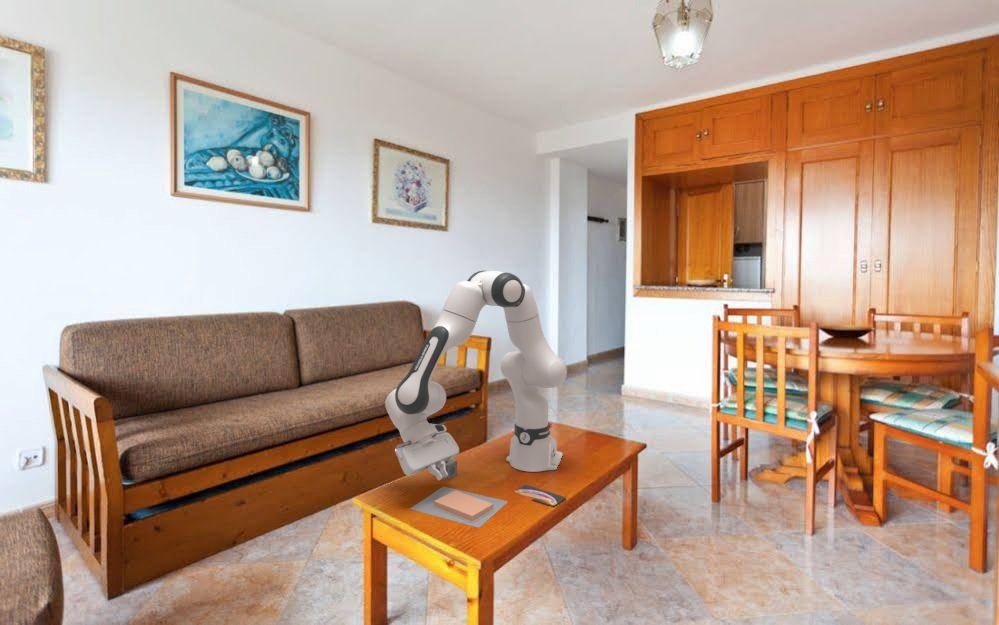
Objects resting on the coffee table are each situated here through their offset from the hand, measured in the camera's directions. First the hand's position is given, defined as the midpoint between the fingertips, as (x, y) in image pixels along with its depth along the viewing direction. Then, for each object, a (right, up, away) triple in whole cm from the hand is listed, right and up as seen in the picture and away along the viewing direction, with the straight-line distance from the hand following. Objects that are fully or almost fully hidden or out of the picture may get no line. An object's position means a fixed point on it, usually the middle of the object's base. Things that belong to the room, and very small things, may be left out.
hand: (443, 478), depth 141 cm
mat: (+5, -7, -2) cm, 9 cm away
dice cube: (-1, -6, +19) cm, 21 cm away
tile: (0, -6, 0) cm, 6 cm away
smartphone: (+28, -8, +6) cm, 29 cm away
